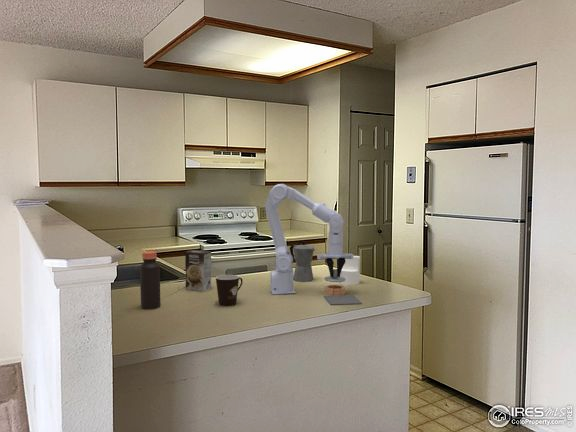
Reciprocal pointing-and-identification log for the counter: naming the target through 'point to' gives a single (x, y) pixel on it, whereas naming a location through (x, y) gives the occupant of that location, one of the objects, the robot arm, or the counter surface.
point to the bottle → (150, 281)
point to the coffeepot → (302, 262)
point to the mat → (342, 300)
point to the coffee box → (198, 270)
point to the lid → (335, 277)
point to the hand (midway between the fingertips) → (334, 276)
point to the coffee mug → (227, 289)
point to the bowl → (334, 289)
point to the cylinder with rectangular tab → (351, 271)
